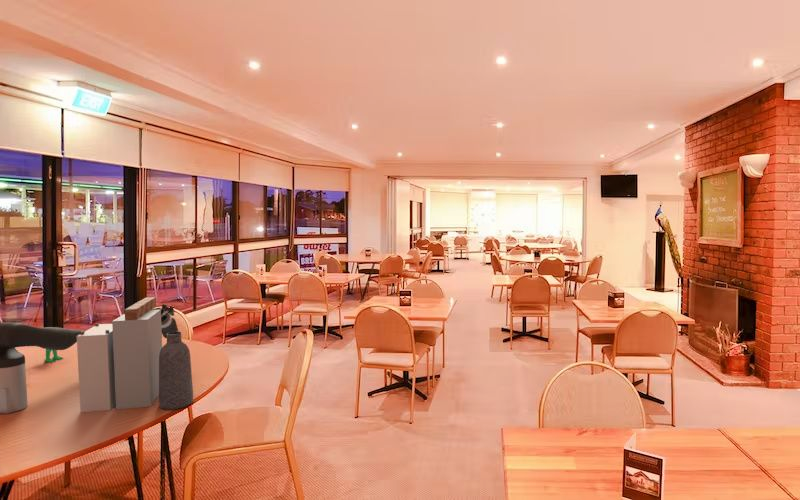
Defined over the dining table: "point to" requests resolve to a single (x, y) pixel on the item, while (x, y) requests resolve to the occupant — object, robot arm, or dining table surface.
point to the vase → (175, 374)
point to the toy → (53, 357)
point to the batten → (140, 308)
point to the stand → (120, 363)
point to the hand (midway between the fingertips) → (152, 306)
